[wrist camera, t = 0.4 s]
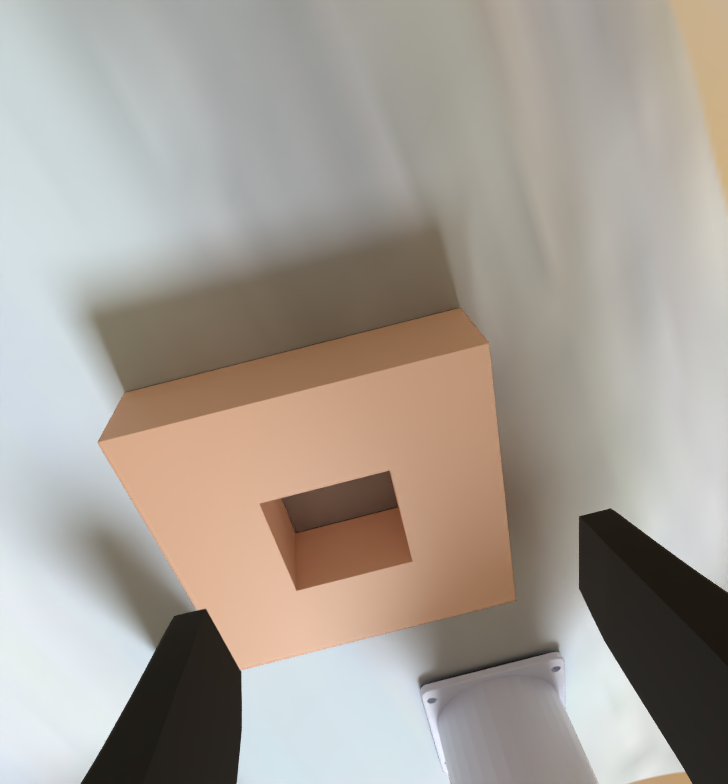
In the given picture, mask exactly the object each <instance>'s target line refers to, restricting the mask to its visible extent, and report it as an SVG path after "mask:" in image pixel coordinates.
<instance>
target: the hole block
mask: <svg viewBox="0 0 728 784" xmlns="http://www.w3.org/2000/svg"><path fill="white" fill-rule="evenodd" d="M97 443H98V444H99V446H100V448H101V449H102V451H103V453H104V455H105V456H106V458H107V460H108V461H109V463H110V465H111V466H112V468H113V470H114V471H115V473H116V475H117V476H118V478H119V480H120V482H121V483H122V485H123V487H124V488H125V490H126V492H127V493H128V495H129V497H130V498H131V500H132V502H133V503H134V505H135V507H136V509H137V510H138V512H139V514H140V515H141V517H142V519H143V520H144V522H145V524H146V525H147V527H148V529H149V530H150V532H151V534H152V536H153V537H154V539H155V541H156V542H157V544H158V546H159V547H160V549H161V551H162V552H163V554H164V556H165V557H166V559H167V561H168V562H169V564H170V566H171V568H172V569H173V571H174V573H175V574H176V576H177V578H178V579H179V581H180V583H181V584H182V586H183V588H184V589H185V591H186V593H187V595H188V596H189V598H190V600H191V601H192V603H193V605H194V606H195V608H196V610H197V611H198V610H202V609H206V610H207V611H208V613H209V615H210V617H211V619H212V620H213V622H214V624H215V626H216V628H217V629H218V631H219V633H220V635H221V637H222V638H223V640H224V642H225V644H226V646H227V647H228V649H229V651H230V653H231V654H232V656H233V658H234V660H235V662H236V663H237V665H238V667H239V669H240V670H244V669H248V668H252V667H256V666H260V665H264V664H268V663H271V662H275V661H279V660H283V659H287V658H291V657H295V656H299V655H303V654H307V653H311V652H315V651H319V650H323V649H327V648H331V647H335V646H339V645H342V644H346V643H350V642H354V641H358V640H362V639H366V638H370V637H374V636H378V635H382V634H386V633H390V632H394V631H398V630H402V629H406V628H409V627H413V626H417V625H421V624H425V623H429V622H433V621H437V620H441V619H445V618H449V617H453V616H457V615H461V614H465V613H469V612H473V611H477V610H480V609H484V608H488V607H492V606H496V605H500V604H504V603H508V602H512V601H516V597H515V588H514V578H513V569H512V559H511V549H510V540H509V530H508V521H507V511H506V501H505V492H504V482H503V473H502V463H501V453H500V444H499V434H498V425H497V415H496V405H495V396H494V386H493V377H492V367H491V357H490V348H489V343H488V341H487V340H486V339H485V338H484V336H483V335H482V334H481V333H480V331H479V330H478V329H477V328H476V326H475V325H474V324H473V323H472V321H471V320H470V319H469V318H468V316H467V315H466V314H465V313H464V311H463V310H462V309H461V308H458V309H454V310H450V311H446V312H442V313H438V314H434V315H430V316H426V317H422V318H418V319H414V320H410V321H406V322H402V323H398V324H394V325H390V326H387V327H383V328H379V329H375V330H371V331H367V332H363V333H359V334H355V335H351V336H347V337H343V338H339V339H335V340H331V341H327V342H323V343H319V344H316V345H312V346H308V347H304V348H300V349H296V350H292V351H288V352H284V353H280V354H276V355H272V356H268V357H264V358H260V359H256V360H252V361H248V362H244V363H241V364H237V365H233V366H229V367H225V368H221V369H217V370H213V371H209V372H205V373H201V374H197V375H193V376H189V377H185V378H181V379H177V380H173V381H169V382H166V383H162V384H158V385H154V386H150V387H146V388H142V389H138V390H134V391H130V392H126V393H124V395H123V396H122V398H121V400H120V402H119V404H118V406H117V407H116V409H115V411H114V413H113V415H112V417H111V418H110V420H109V422H108V424H107V426H106V428H105V429H104V431H103V433H102V435H101V437H100V439H99V440H98V442H97ZM386 471H389V472H390V476H391V480H392V484H393V488H394V492H395V497H396V501H397V505H398V508H394V509H390V510H386V511H382V512H378V513H374V514H370V515H366V516H362V517H358V518H354V519H351V520H347V521H343V522H339V523H335V524H331V525H327V526H323V527H319V528H315V529H311V530H307V531H303V532H299V533H295V531H294V528H293V526H292V523H291V521H290V518H289V516H288V513H287V510H286V508H285V505H284V503H283V500H282V498H283V497H287V496H291V495H295V494H299V493H303V492H307V491H311V490H315V489H319V488H323V487H327V486H331V485H335V484H339V483H343V482H347V481H350V480H354V479H358V478H362V477H366V476H370V475H374V474H378V473H382V472H386Z"/></svg>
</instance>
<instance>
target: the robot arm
mask: <svg viewBox="0 0 728 784" xmlns="http://www.w3.org/2000/svg"><path fill="white" fill-rule="evenodd" d="M579 589H580V591H581V593H582V595H583V598H584V600H585V602H586V604H587V606H588V608H589V610H590V612H591V614H592V617H593V619H594V621H595V623H596V625H597V627H598V629H599V631H600V633H601V635H602V637H603V639H604V641H605V642H606V644H607V646H608V647H609V649H610V651H611V652H612V654H613V656H614V657H615V659H616V660H617V662H618V664H619V665H620V667H621V669H622V670H623V672H624V673H625V675H626V677H627V678H628V680H629V681H630V683H631V685H632V686H633V688H634V689H635V691H636V693H637V694H638V696H639V697H640V699H641V701H642V702H643V704H644V705H645V707H646V709H647V710H648V712H649V713H650V715H651V717H652V718H653V720H654V721H655V723H656V725H657V726H658V728H659V729H660V731H661V733H662V734H663V736H664V737H665V739H666V741H667V742H668V744H669V745H670V747H671V749H672V750H673V752H674V753H675V755H676V757H677V758H678V760H679V761H680V763H681V765H682V766H683V768H684V770H685V771H686V773H687V775H688V776H689V778H690V780H691V782H692V784H728V592H726V591H725V590H723V589H722V588H720V587H719V586H717V585H716V584H714V583H713V582H711V581H710V580H709V579H707V578H706V577H704V576H703V575H701V574H700V573H698V572H697V571H696V570H694V569H693V568H691V567H690V566H689V565H687V564H686V563H684V562H683V561H682V560H680V559H679V558H678V557H676V556H675V555H673V554H672V553H671V552H669V551H668V550H667V549H665V548H664V547H662V546H661V545H660V544H658V543H657V542H656V541H654V540H653V539H652V538H650V537H649V536H648V535H646V534H645V533H644V532H642V531H641V530H640V529H638V528H637V527H636V526H634V525H633V524H632V523H630V522H629V521H628V520H626V519H625V518H624V517H622V516H621V515H620V514H618V513H617V512H615V511H614V510H612V509H607V510H603V511H599V512H595V513H591V514H587V515H583V516H579ZM420 693H421V697H422V701H423V704H424V708H425V711H426V715H427V718H428V722H429V725H430V729H431V732H432V736H433V739H434V743H435V746H436V750H437V753H438V756H439V760H440V763H441V767H442V770H443V772H444V773H446V774H448V775H449V779H450V783H451V784H599V783H598V781H597V779H596V777H595V774H594V772H593V770H592V768H591V765H590V763H589V761H588V759H587V757H586V754H585V752H584V750H583V748H582V745H581V743H580V741H579V739H578V737H577V734H576V732H575V730H574V728H573V725H572V723H571V721H570V719H569V717H568V714H567V712H566V700H565V671H564V659H563V657H562V655H561V654H560V653H558V652H552V653H548V654H544V655H540V656H536V657H532V658H528V659H524V660H520V661H516V662H512V663H508V664H504V665H500V666H496V667H492V668H489V669H485V670H481V671H477V672H473V673H469V674H465V675H461V676H457V677H453V678H449V679H445V680H441V681H437V682H433V683H429V684H426V685H424V686H423V687H422V688H421V689H420ZM241 731H242V693H241V671H240V669H239V667H238V665H237V663H236V662H235V660H234V658H233V656H232V654H231V653H230V651H229V649H228V647H227V646H226V644H225V642H224V640H223V638H222V637H221V635H220V633H219V631H218V629H217V628H216V626H215V624H214V622H213V620H212V619H211V617H210V615H209V613H208V611H207V610H206V609H202V610H198V611H193V612H189V613H185V614H181V615H177V616H174V618H173V619H172V621H171V622H170V624H169V626H168V628H167V630H166V631H165V633H164V635H163V637H162V639H161V641H160V643H159V645H158V647H157V648H156V650H155V652H154V654H153V656H152V658H151V660H150V662H149V664H148V666H147V667H146V669H145V671H144V673H143V675H142V677H141V679H140V681H139V682H138V684H137V686H136V688H135V690H134V692H133V694H132V695H131V697H130V699H129V701H128V703H127V704H126V706H125V708H124V710H123V712H122V713H121V715H120V717H119V719H118V721H117V722H116V724H115V726H114V728H113V729H112V731H111V733H110V735H109V737H108V738H107V740H106V742H105V744H104V746H103V747H102V749H101V751H100V752H99V754H98V756H97V758H96V759H95V761H94V763H93V764H92V766H91V768H90V769H89V771H88V773H87V774H86V776H85V777H84V779H83V781H82V782H81V784H236V783H237V773H238V763H239V753H240V742H241Z"/></svg>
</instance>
